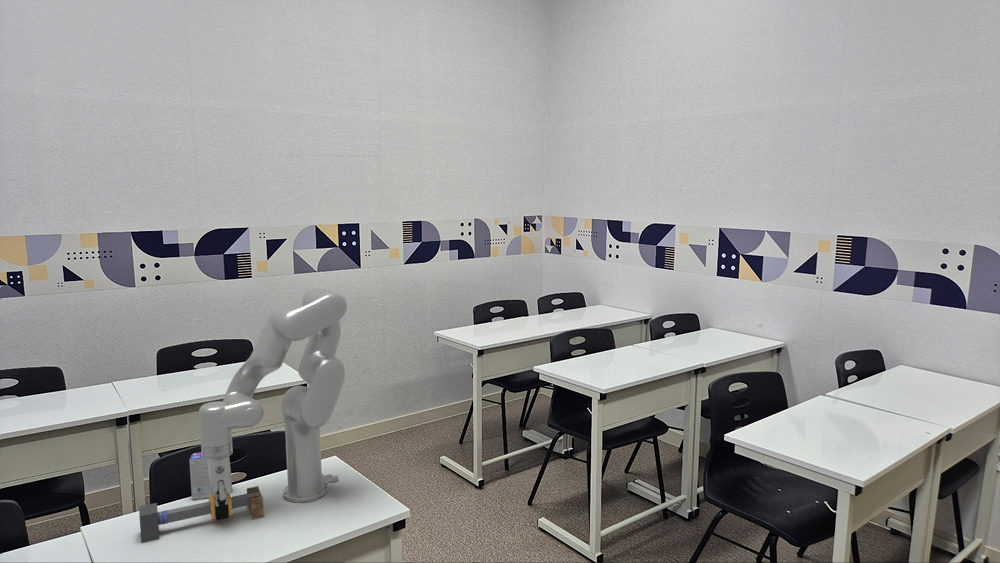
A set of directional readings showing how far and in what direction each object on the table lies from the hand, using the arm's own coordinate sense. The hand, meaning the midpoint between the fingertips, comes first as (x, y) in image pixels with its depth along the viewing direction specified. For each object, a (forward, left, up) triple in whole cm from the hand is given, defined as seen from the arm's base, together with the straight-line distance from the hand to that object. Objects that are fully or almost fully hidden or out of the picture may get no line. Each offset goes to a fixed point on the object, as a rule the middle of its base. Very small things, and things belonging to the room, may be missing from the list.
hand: (221, 513), depth 174 cm
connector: (+17, 0, -2) cm, 17 cm away
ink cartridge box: (+1, -18, -2) cm, 18 cm away
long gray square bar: (+3, 0, +1) cm, 3 cm away
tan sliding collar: (0, 0, 0) cm, 0 cm away
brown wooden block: (-9, 0, -2) cm, 9 cm away
